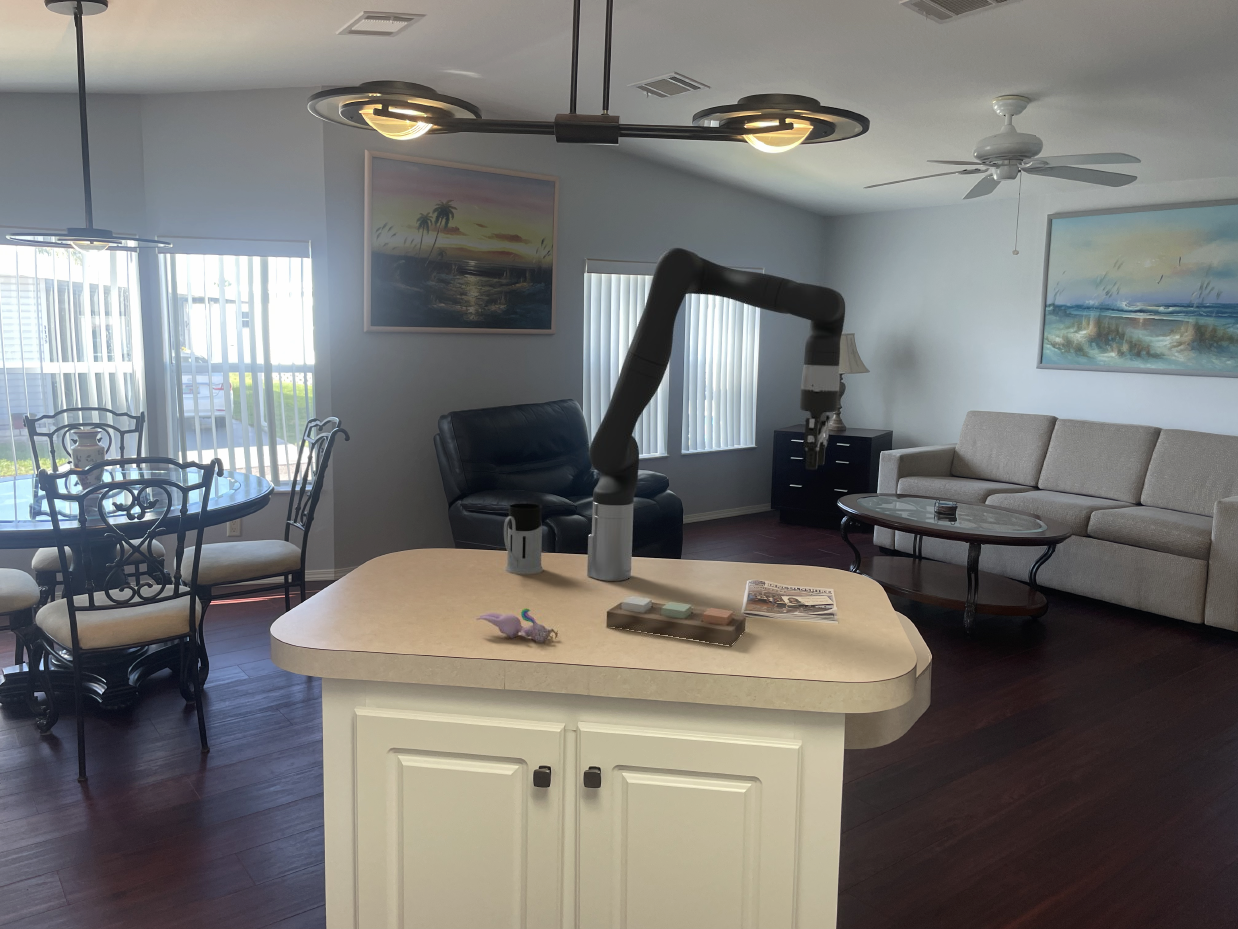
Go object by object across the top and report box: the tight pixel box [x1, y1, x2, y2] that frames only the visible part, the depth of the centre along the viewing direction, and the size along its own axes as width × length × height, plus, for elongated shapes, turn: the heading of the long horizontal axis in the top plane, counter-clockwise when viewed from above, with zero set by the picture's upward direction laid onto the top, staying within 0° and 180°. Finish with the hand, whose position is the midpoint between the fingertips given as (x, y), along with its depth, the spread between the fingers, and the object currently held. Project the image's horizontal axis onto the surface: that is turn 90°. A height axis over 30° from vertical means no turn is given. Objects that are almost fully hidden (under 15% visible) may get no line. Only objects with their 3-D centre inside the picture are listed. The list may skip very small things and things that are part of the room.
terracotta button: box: [703, 607, 734, 625], centre depth 164 cm, size 4×4×3 cm
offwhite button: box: [621, 595, 653, 613], centre depth 170 cm, size 4×4×3 cm
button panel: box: [605, 601, 747, 647], centre depth 168 cm, size 24×10×3 cm, turn 68°
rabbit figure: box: [476, 608, 559, 645], centre depth 160 cm, size 6×6×15 cm
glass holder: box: [503, 502, 544, 575], centre depth 205 cm, size 9×14×15 cm, turn 159°
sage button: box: [661, 601, 693, 619], centre depth 167 cm, size 4×4×3 cm
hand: (814, 466), depth 184 cm, fingers open, 8 cm apart
